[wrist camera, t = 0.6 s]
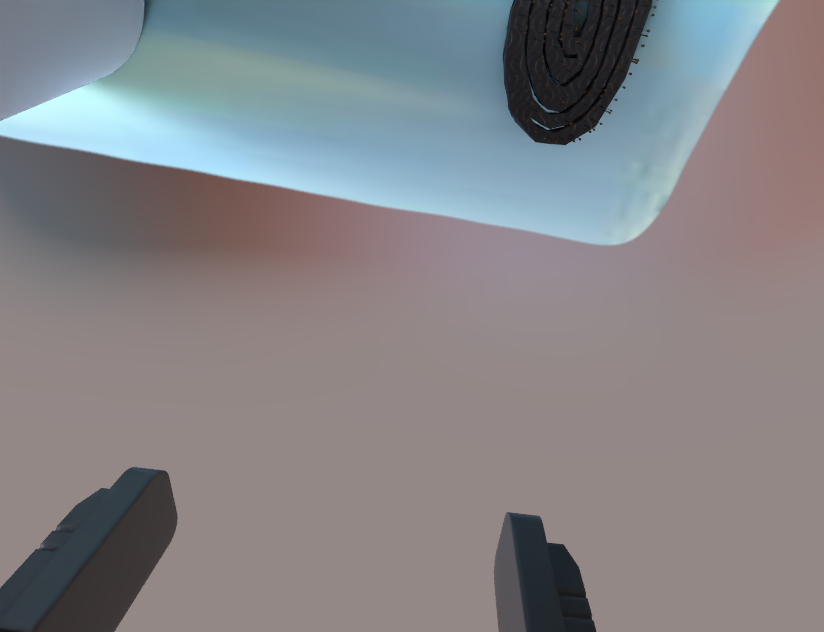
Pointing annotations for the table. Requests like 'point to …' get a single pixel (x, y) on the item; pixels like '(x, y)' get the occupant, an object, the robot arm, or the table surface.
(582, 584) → the robot arm
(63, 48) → the cylinder vase
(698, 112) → the table surface
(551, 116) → the hairbrush
